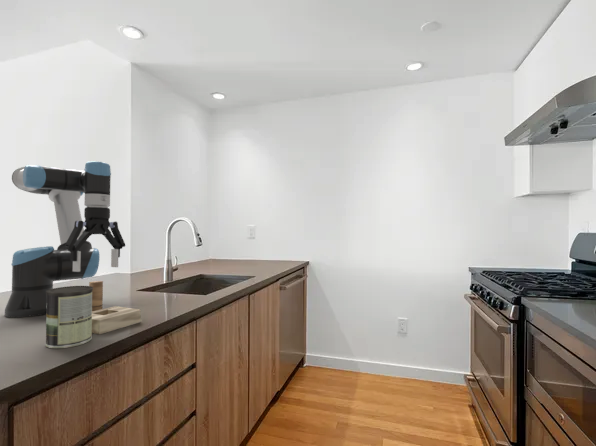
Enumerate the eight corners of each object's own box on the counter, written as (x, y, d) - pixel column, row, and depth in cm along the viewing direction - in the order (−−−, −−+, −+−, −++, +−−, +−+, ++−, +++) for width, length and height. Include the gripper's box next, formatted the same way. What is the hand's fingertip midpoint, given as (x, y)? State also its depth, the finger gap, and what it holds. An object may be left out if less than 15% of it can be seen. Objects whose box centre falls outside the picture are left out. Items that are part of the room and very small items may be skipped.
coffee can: (35, 349, 83) (36, 292, 83) (61, 336, 93) (61, 285, 93) (78, 348, 84) (79, 292, 84) (99, 335, 94) (100, 285, 94)
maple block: (72, 329, 99) (72, 315, 100) (115, 317, 112) (115, 306, 112) (99, 334, 95) (99, 320, 95) (140, 322, 107) (140, 309, 107)
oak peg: (85, 318, 112) (86, 282, 113) (97, 315, 116) (97, 280, 116) (93, 319, 111) (94, 283, 111) (105, 316, 114) (105, 281, 115)
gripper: (66, 204, 101) (65, 274, 101) (136, 209, 124) (135, 266, 124) (51, 205, 104) (50, 272, 104) (122, 209, 127) (121, 265, 127)
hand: (96, 269), depth 114 cm, fingers open, 13 cm apart
